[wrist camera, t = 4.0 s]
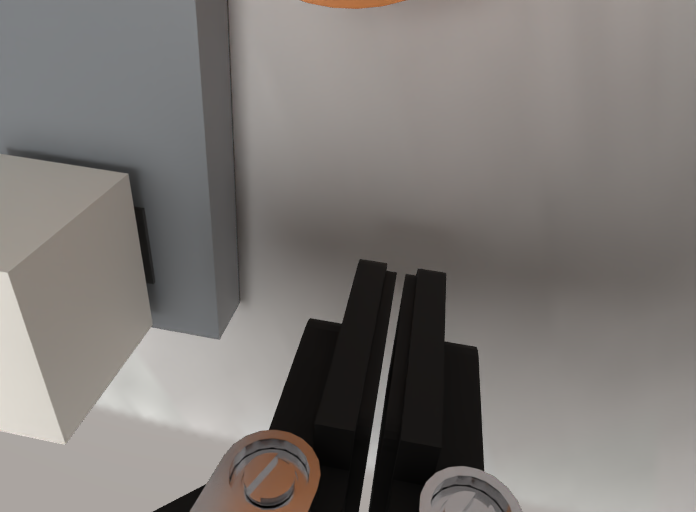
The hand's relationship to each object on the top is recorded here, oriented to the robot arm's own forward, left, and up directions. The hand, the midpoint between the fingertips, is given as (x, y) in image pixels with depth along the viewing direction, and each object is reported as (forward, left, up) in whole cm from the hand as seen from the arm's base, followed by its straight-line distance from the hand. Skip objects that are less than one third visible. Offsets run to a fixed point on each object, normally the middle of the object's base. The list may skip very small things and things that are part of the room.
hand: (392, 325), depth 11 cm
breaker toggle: (+7, 0, -1) cm, 7 cm away
